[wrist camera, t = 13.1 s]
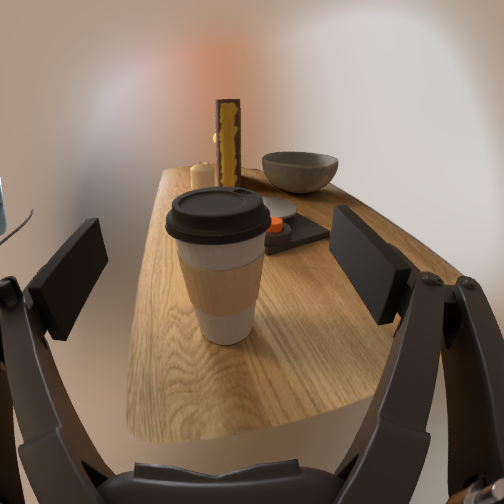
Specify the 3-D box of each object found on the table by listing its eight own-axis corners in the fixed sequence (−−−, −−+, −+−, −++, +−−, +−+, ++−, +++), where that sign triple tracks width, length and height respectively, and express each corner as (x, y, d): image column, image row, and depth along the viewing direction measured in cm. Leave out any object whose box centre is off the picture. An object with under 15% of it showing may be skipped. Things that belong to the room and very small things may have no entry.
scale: (219, 218, 59) (218, 204, 57) (274, 206, 65) (274, 194, 64) (267, 255, 45) (267, 239, 44) (329, 236, 52) (331, 221, 50)
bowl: (283, 178, 89) (285, 147, 84) (344, 190, 78) (347, 157, 73) (246, 192, 74) (246, 155, 69) (318, 209, 64) (321, 167, 59)
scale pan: (225, 205, 57) (225, 202, 57) (273, 196, 62) (273, 193, 62) (256, 226, 48) (256, 222, 48) (309, 213, 54) (309, 210, 53)
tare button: (259, 228, 48) (259, 219, 47) (275, 224, 50) (275, 215, 49) (270, 235, 46) (270, 225, 45) (286, 231, 47) (286, 221, 46)
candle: (196, 198, 70) (194, 160, 65) (217, 199, 70) (216, 160, 65) (189, 206, 65) (186, 165, 60) (212, 206, 65) (210, 164, 60)
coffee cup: (277, 310, 34) (284, 189, 26) (249, 369, 26) (249, 228, 19) (207, 294, 37) (197, 181, 29) (168, 342, 29) (140, 212, 22)
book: (245, 190, 76) (245, 99, 64) (213, 191, 75) (211, 99, 63) (239, 172, 95) (239, 100, 83) (214, 173, 94) (212, 101, 82)
